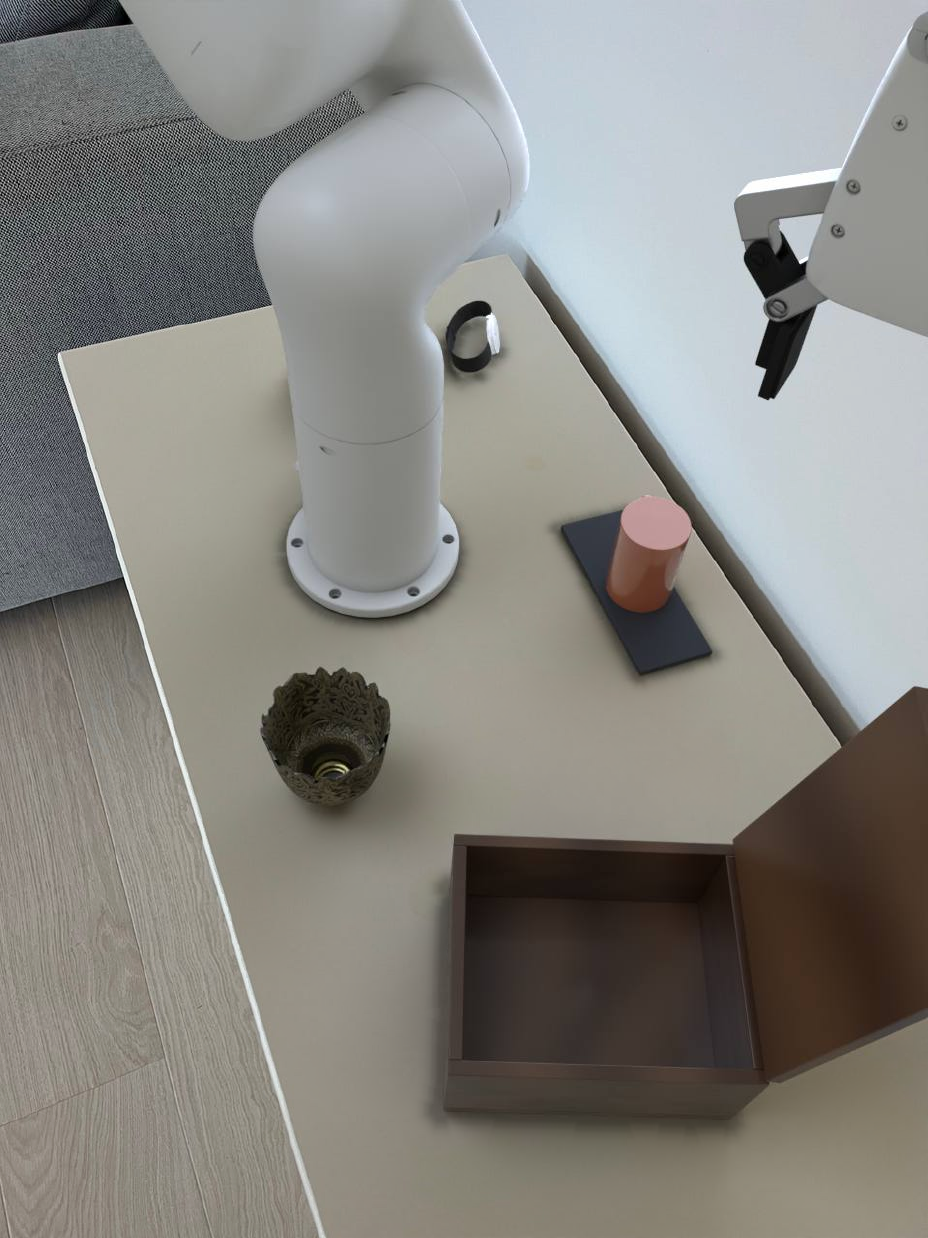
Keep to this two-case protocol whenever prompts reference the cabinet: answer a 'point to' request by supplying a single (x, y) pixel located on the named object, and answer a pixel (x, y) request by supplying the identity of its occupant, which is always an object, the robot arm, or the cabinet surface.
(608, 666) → the cabinet surface
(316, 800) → the cup
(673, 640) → the mat
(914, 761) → the lid
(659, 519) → the glossy terracotta cylinder
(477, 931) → the chest
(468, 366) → the watch
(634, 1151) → the cabinet surface
